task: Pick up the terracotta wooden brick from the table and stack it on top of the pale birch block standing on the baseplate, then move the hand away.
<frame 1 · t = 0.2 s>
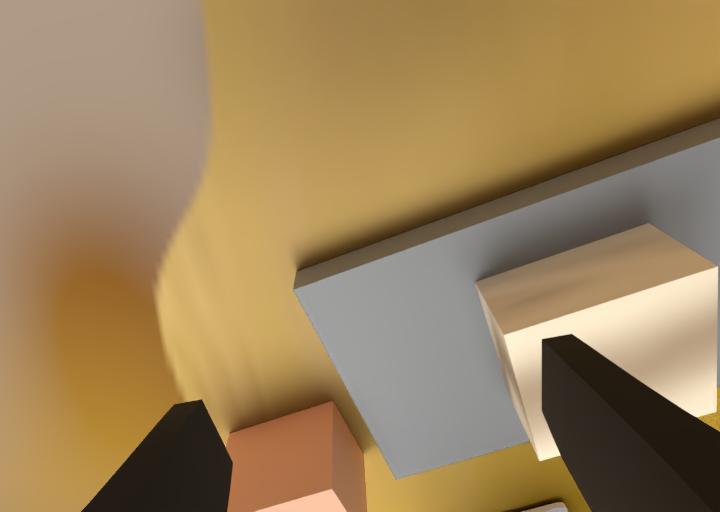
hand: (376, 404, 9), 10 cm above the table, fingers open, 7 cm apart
birch block: (571, 319, 19), point 1 cm above the table, touching baseplate
baseplate: (537, 315, 21), on the table
terracotta brick: (298, 442, 24), on the table
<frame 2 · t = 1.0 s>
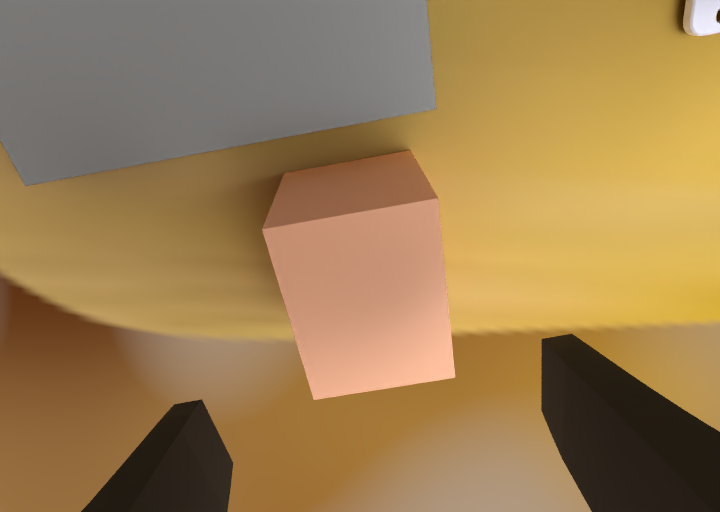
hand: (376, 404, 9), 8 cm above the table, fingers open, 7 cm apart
terracotta brick: (361, 236, 17), on the table
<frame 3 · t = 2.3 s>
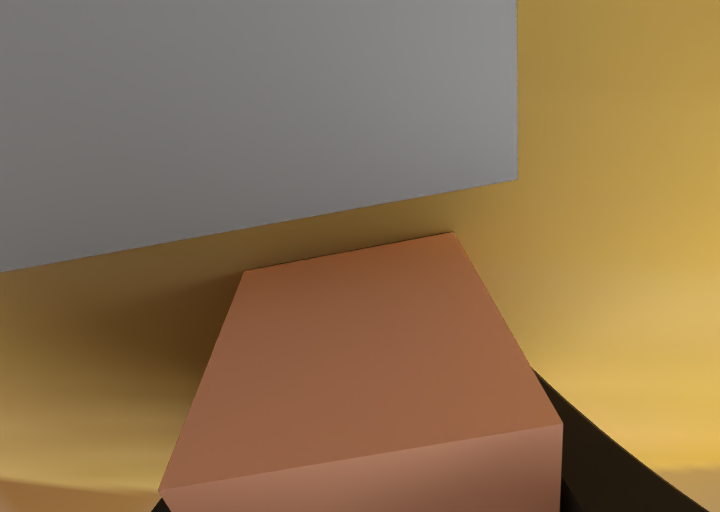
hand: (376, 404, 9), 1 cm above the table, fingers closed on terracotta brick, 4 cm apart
terracotta brick: (372, 359, 11), on the table, touching gripper
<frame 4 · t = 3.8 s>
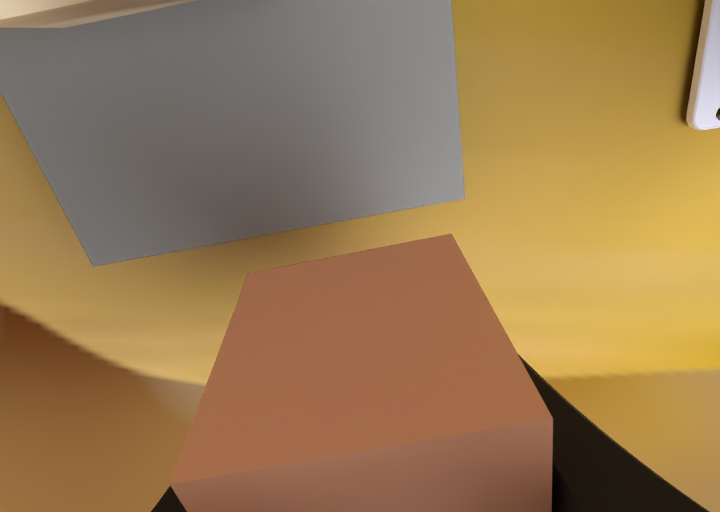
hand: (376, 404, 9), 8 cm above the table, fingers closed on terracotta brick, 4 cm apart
terracotta brick: (373, 358, 11), point 7 cm above the table, touching gripper
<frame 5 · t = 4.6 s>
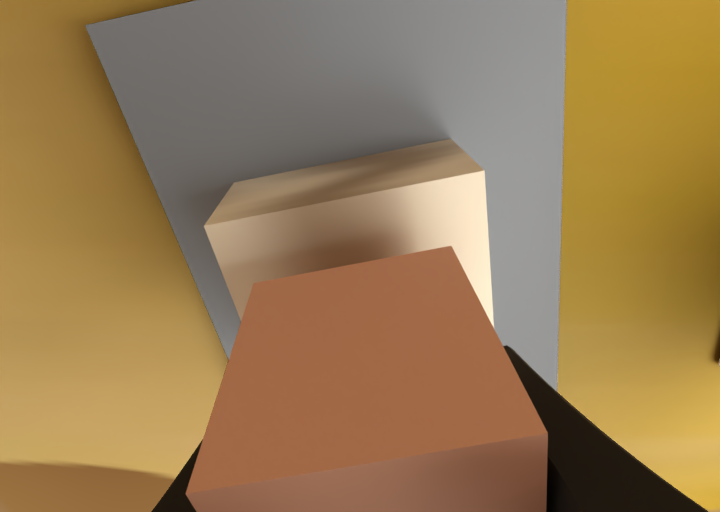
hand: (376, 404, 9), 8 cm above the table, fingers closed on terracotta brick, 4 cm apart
birch block: (361, 257, 15), point 1 cm above the table, touching baseplate
baseplate: (377, 259, 17), on the table
terracotta brick: (374, 364, 11), point 7 cm above the table, touching gripper
when the fingers open (7 cm above the table, at t = 5.3 s): terracotta brick stays where it is, resting on birch block.
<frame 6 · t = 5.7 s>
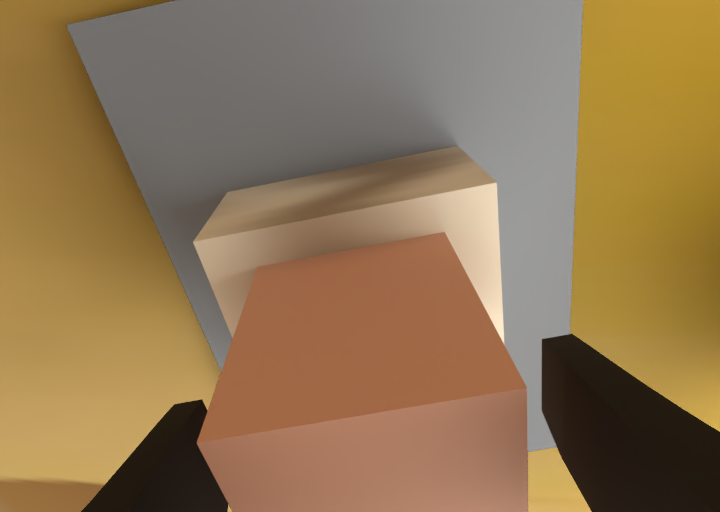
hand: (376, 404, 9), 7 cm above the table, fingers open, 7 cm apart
birch block: (363, 269, 15), point 1 cm above the table, touching baseplate, terracotta brick
baseplate: (379, 270, 16), on the table
terracotta brick: (371, 348, 12), point 5 cm above the table, touching birch block
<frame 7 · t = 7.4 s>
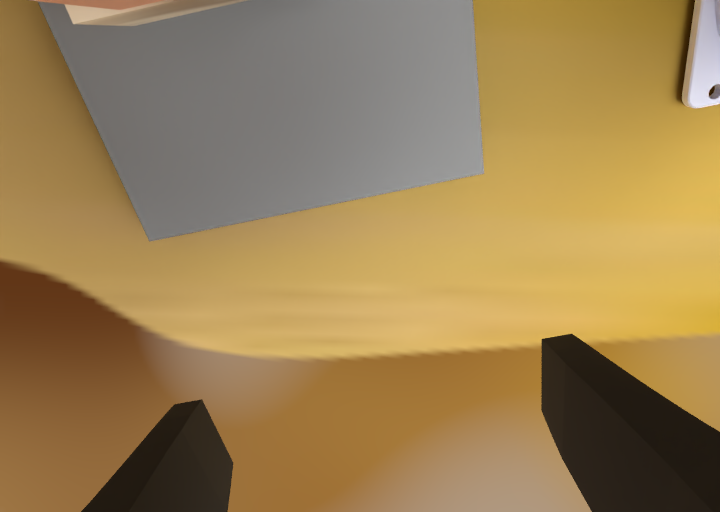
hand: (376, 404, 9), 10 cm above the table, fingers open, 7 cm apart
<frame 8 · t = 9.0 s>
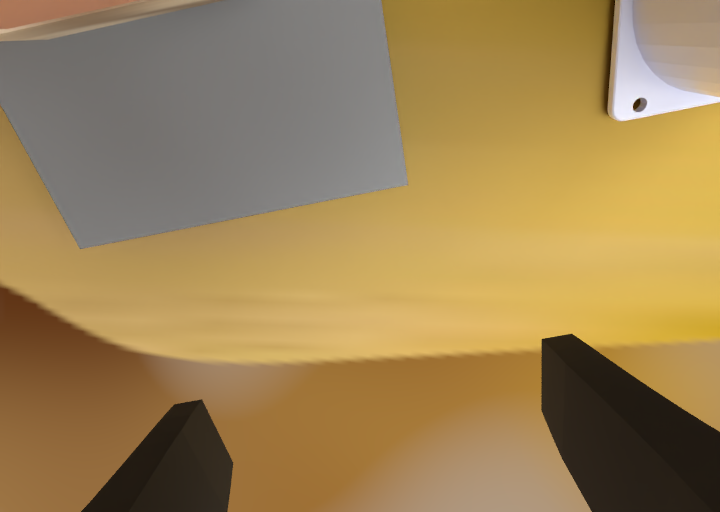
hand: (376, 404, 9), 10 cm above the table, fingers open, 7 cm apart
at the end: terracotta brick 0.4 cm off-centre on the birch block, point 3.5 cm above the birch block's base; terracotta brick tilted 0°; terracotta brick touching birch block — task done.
